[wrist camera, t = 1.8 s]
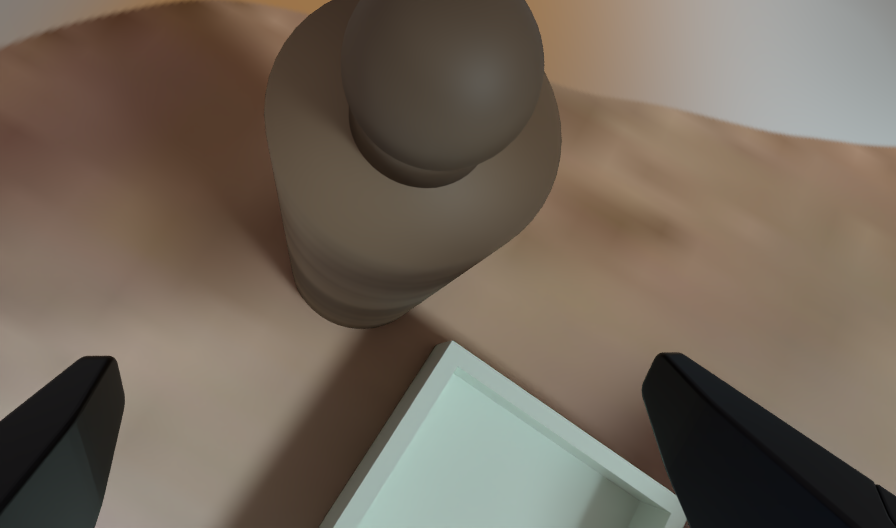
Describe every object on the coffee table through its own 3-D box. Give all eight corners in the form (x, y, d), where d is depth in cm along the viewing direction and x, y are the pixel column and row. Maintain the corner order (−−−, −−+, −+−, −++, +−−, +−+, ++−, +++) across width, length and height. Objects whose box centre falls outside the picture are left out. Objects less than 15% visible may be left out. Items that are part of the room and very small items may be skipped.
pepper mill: (379, 355, 20) (536, 306, 6) (261, 275, 20) (135, 22, 6) (454, 245, 22) (722, -4, 8) (345, 169, 21) (411, -249, 7)
